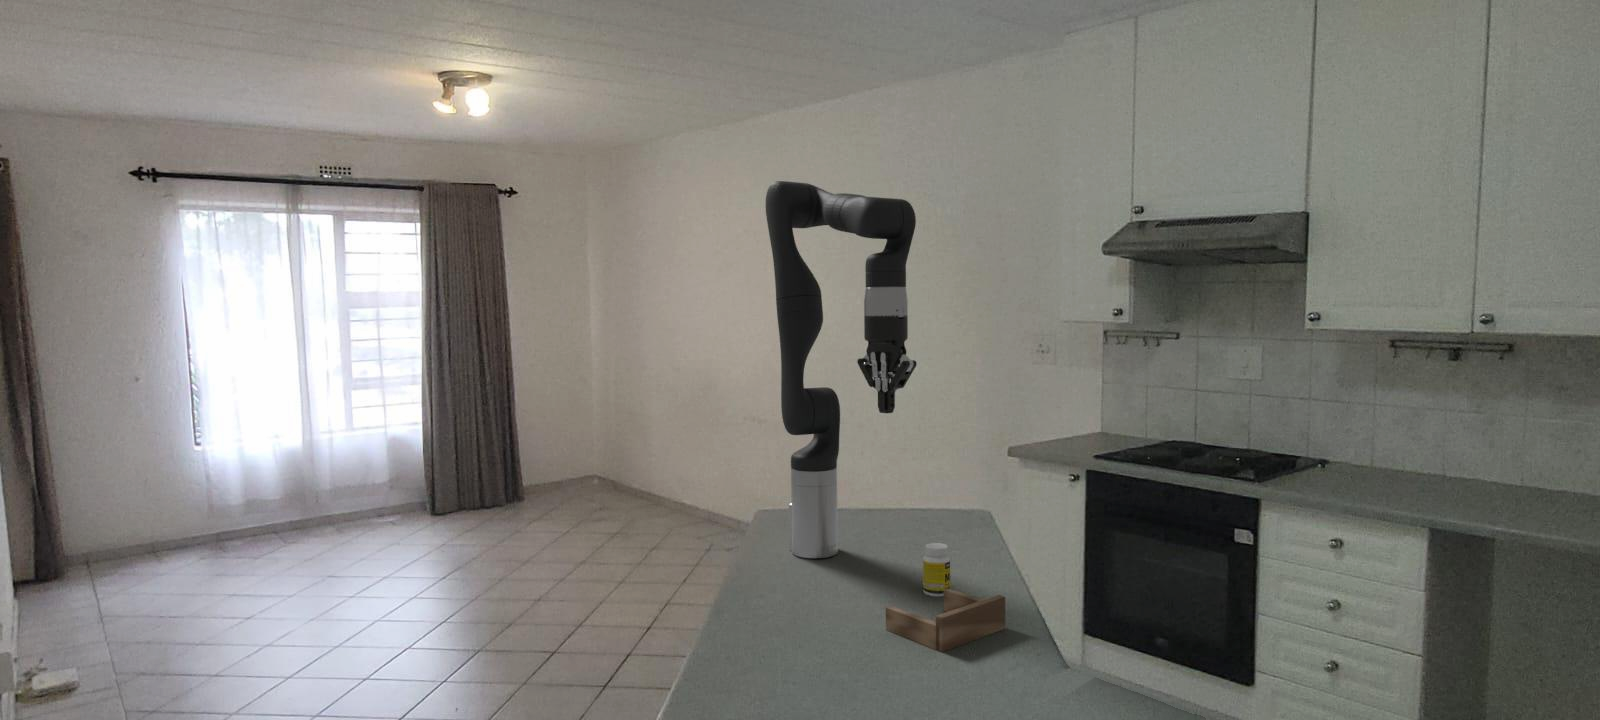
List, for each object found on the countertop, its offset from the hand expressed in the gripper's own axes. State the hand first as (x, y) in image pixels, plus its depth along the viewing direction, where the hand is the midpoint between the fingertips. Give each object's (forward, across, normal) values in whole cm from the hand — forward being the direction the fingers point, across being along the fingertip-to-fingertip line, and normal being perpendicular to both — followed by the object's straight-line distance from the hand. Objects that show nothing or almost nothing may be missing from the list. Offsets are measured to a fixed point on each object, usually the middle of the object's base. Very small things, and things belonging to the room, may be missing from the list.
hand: (886, 412), depth 148 cm
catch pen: (+32, +19, -6) cm, 37 cm away
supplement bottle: (+32, +6, +6) cm, 33 cm away
